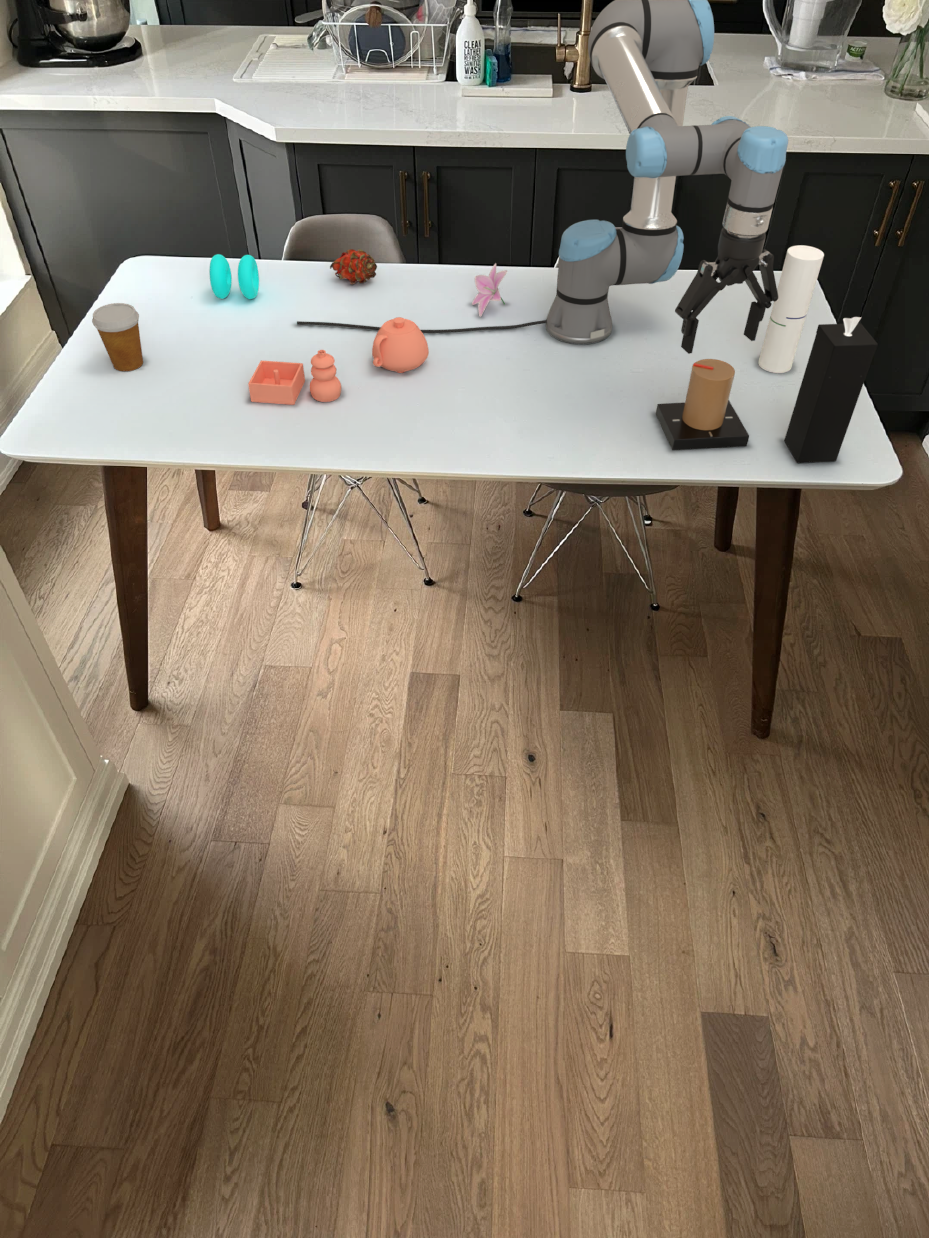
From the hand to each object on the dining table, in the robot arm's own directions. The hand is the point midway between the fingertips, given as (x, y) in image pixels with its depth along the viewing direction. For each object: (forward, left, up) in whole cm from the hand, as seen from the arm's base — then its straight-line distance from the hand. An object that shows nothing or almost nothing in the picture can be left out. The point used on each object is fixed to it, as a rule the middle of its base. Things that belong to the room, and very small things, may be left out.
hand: (718, 344), depth 171 cm
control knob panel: (0, 0, -19) cm, 19 cm away
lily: (-49, +45, -19) cm, 69 cm away
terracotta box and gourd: (-83, 0, -19) cm, 85 cm away
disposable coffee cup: (-123, +5, -19) cm, 124 cm away
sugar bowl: (-65, +15, -19) cm, 69 cm away
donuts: (-110, +40, -19) cm, 118 cm away
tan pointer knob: (0, 0, -16) cm, 16 cm away
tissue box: (+21, -4, -19) cm, 29 cm away
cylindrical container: (+17, +29, -19) cm, 38 cm away
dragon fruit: (-84, +53, -19) cm, 101 cm away
